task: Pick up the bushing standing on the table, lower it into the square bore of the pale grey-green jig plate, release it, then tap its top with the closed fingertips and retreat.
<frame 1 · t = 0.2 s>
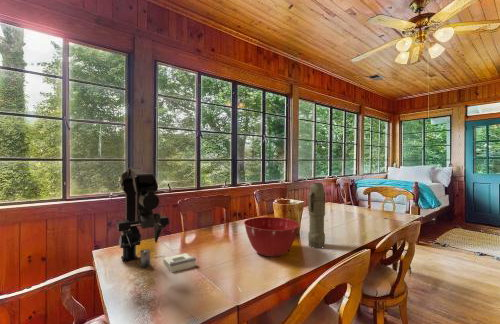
hand: (143, 244, 101), 14 cm above the table, fingers open, 9 cm apart
thermos: (316, 246, 143), on the table
mixing bowl: (271, 252, 133), on the table
jig: (179, 264, 116), on the table
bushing: (145, 266, 114), on the table
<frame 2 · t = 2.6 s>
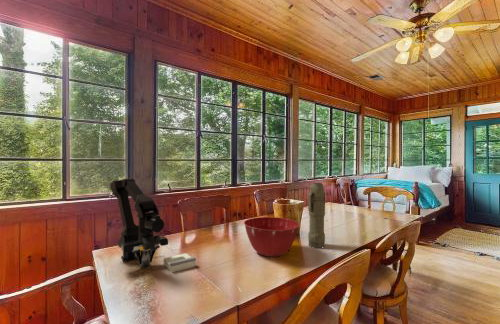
hand: (145, 262, 114), 2 cm above the table, fingers closed on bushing, 4 cm apart
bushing: (145, 266, 114), on the table, touching gripper
everything else where it was.
when the fingers open (3 cm above the table, at t = 6.0 s): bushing drops 1 cm, resting in jig.
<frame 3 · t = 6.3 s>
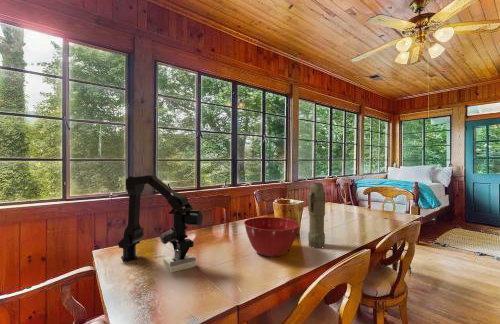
hand: (179, 258, 116), 3 cm above the table, fingers open, 6 cm apart
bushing: (179, 264, 116), resting in jig
everything else where it was.
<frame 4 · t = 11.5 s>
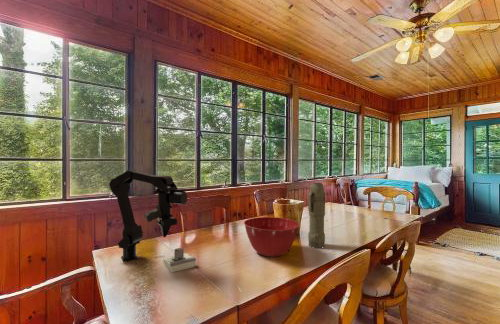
hand: (164, 237, 118), 12 cm above the table, fingers closed
nothing on the table moved.
at the end: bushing 0.1 cm off-centre on the jig, point 0.0 cm above the jig's base; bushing tilted 0°; the gripper is holding nothing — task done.
